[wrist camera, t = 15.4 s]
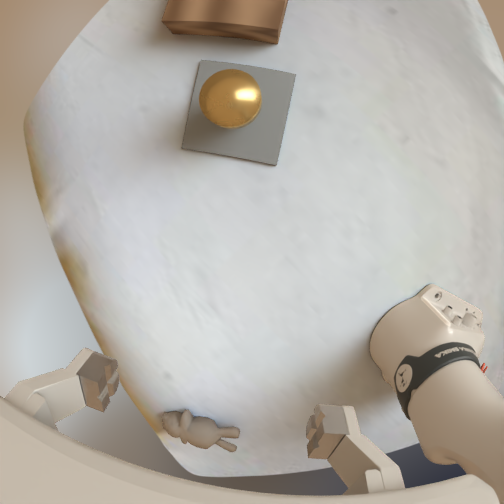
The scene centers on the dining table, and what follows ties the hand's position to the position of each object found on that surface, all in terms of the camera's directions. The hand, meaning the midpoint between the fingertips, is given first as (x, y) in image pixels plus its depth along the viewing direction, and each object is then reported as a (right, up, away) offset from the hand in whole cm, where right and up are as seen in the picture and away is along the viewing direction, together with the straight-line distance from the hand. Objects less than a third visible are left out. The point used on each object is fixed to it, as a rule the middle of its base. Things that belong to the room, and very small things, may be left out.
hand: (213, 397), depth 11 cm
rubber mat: (0, +23, +23) cm, 33 cm away
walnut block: (-1, +40, +18) cm, 43 cm away
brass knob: (0, +23, +23) cm, 32 cm away
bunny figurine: (-8, -28, +41) cm, 50 cm away
